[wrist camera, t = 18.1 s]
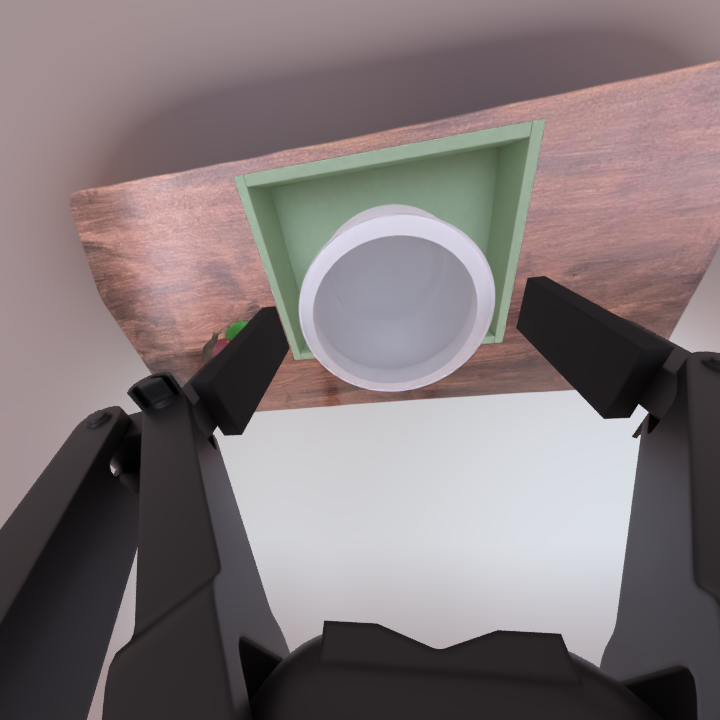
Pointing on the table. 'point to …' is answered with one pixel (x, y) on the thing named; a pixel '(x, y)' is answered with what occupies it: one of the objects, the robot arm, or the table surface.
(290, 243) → the tray
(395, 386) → the jar
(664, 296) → the table surface
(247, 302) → the table surface
